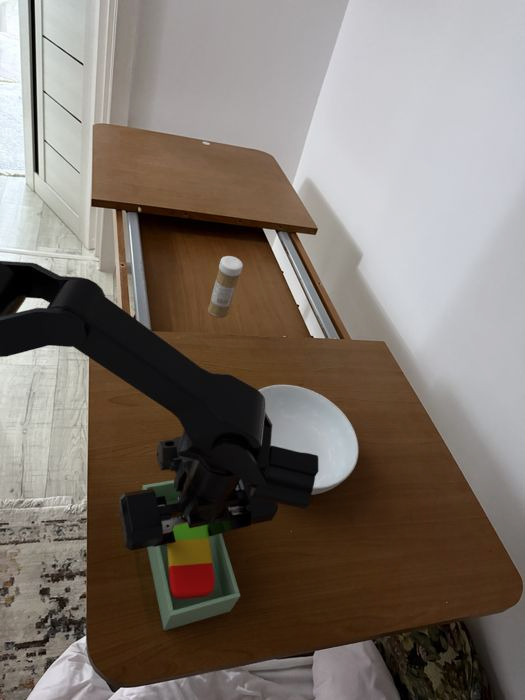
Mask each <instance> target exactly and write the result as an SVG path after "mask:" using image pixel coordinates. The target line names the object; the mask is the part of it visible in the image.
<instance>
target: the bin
mask: <svg viewBox="0 0 525 700" xmlns="http://www.w3.org/2000/svg"><path fill="white" fill-rule="evenodd" d="M174 480H175V479H173V480H167V481H160V482H153V483H149V484H143V485H142V488H141V490H146V489H153V490H154V491H155V494H156V497H160V496H165V498H166V503H167V505H169V504H174V503H178V500H177V497H178V496H179V495H180V491H178V492H176V491H175V487H174ZM176 518H177V517H176ZM180 518H181V516H180ZM173 519H174V518H173ZM209 539H210V547H211V555H212V563H213V572H214V580H215V585H214V589H213V591H212V592H211V593H210V595H208V596H205V597H199V598H189V599H177V598H174V597H173V596H172V594H171V592H170V584H169V568H168V552H167V546H157V547H152V546H151V547H146V549H147V555H148V560H149V563H150V569H151V574H152V579H153V585H154V590H155V595H156V600H157V605H158V609H159V614H160V620H161V624H162V630H163V631H164V632H165V631H168V630H171V629H172V630H173V629H174V628H178V627H182V626H185V625H189V624H192V623H195V622H199V621H203V620H205V619H209V618H213V617H215V616H219V615H222V614H225V613H230V612H231V611H232V610H233V608H234V606H235V605H236V604H237V602H238V600H239V599H240V598H241V593H240V589H239V586H238V583H237V580H236V577H235V573H234V569H233V566H232V563H231V560H230V555H229V553H228V550H227V547H226V544H225V540H224V536H223V533H222V534H218V535H214V536H211V537H210V536H209Z"/></svg>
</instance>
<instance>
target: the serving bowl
mask: <svg viewBox="0 0 525 700" xmlns="http://www.w3.org/2000/svg"><path fill="white" fill-rule="evenodd" d="M257 390H258V391H259V392H260V393H261V394H262V395H263V396H264V398H265V404H266V405H265V412H266V414H267V416H268V418H269V419H270V421H271V423H272V436H271V445H272V446H276V447H280V448H284V449H288V450H292V451H296V452H301V453H309V454H313V455H317V456H318V473H317V474H316V476H315V481H314V486H313V490H312V494H311V496H313V495H319V494H323V493H325V492H329V491H330V490H332V489H334V488H336V487H337V486H339V485H340V484H342V482H344V481H345V480H346V479H347V478H348V477H350V475H351V474H352V472H353V471H354V469H355V467H356V465H357V463H358V459H359V441H358V437H357V435H356V431H355V429H354V426H353V425H352V423H351V421H350V420H349V419H348V417H347V416H346V414H345V413H344V412H343V411H342V410H341V409H340V408H339V407H338V406H337V405H336V404H335V403H333V402H332V401H331V400H329V399H328V398H326V397H325V396H324V395H321V394H320V393H317V392H316V391H313V390H312V389H308V388H305V387H302V386H299V385H292V384H274V385H268V386H266V387H262V388H259V389H257Z"/></svg>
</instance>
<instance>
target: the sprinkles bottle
mask: <svg viewBox="0 0 525 700" xmlns="http://www.w3.org/2000/svg"><path fill="white" fill-rule="evenodd" d="M243 266H244V265H243V262H242V261H241V260H240V259H239V258H238V257H235V256H234V255H233V256H232V255H226V256H222V257H221V259H220V262H219V265H218V272H217V276H216V279H215V283H214V286H213V290H212V293H211V297H210V300H209V301H210V302H209V305H208V307H207V311H208V313H209V314H210V315H211V316H212V317H214V318H216V319H217V318H218V319H224V318H226V317H227V316H228V315H229V310H230V307H231V304H232V301H233V299H234V295H235V290H236V287H237V284H238V280H239V278H240V275H241V273H242V271H243V268H244V267H243Z"/></svg>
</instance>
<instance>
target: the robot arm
mask: <svg viewBox="0 0 525 700" xmlns="http://www.w3.org/2000/svg"><path fill="white" fill-rule="evenodd" d="M26 299H38V300H39V299H41V300H44V301H45V302H47V303H48V305H47V307H35V308H30V309H26V310H22V311H19V310H20V309H21V307H22V305H23V304H24V303H25V301H26ZM49 346H52V347H64V348H65V347H68V348H72V347H73V348H74V349H76V351H79V352H81V353H82V354H83V355H85V356H86V357H87V358H89V359H91V360H92V361H94V362H95V363H97V364H98V365H99V366H101V367H103V368H104V369H106V370H107V371H108V372H110V373H112V374H113V375H115V376H116V377H117V378H118V379H121V380H122V381H124V382H125V383H127V384H128V385H130V386H131V387H133V388H134V389H136V390H137V391H139V392H140V393H141V394H143V395H145V396H146V397H148V398H149V399H150V400H152V401H154V402H155V403H156V404H158V405H159V406H161V407H163V408H164V409H165V410H167V411H169V412H170V413H171V414H172V415H174V417H176V419H178V421H179V423H180V424H181V426H182V429H183V430H182V434H181V436H176V437H173V438H172V439H167V440H161V441H159V442H158V445H157V447H156V462H157V464H158V466H159V470H161V471H163V472H164V471H170V472H174V473H175V474H174V475H175V476H174V479H173V480H174V487H175V491H176V492H178V491H180V495H179V496H178V497H177V500H178V503H174V504H169V505H167V503H166V498H165V496H160V497H156V494H155V491H154V490H153V489H146V490H142V489H141V490H140V489H139V490H135V491H128V492H124V493H122V495H121V496H120V498H119V500H118V505H117V507H118V513H119V519H120V525H121V531H122V537H123V542H124V547H125V548H126V549H128V550H129V551H132V552H133V551H136V550H141V549H145V548H146V549H147V547H151V546H152V547H157V546H169V545H171V544H173V543H175V542H176V541H175V536H174V532H173V528H174V526H176V525H181V524H186V523H188V525H189V528H194V527H199V526H204V525H208V531H209V536H210V537H211V536H214V535H218V534H222V535H223V534H225V533H229V532H233V531H236V530H240V529H244V528H249V527H251V526H252V525H256V524H261V523H266V522H269V521H273V519H274V517H275V516H276V514H277V512H278V510H279V504H281V505H285V506H289V507H294V508H297V509H302V510H305V509H307V508H308V507H309V506H310V503H311V496H312V495H311V494H312V490H313V486H314V481H315V476H316V474H317V473H318V456H317V455H313V454H309V453H301V452H296V451H292V450H288V449H284V448H280V447H276V446H272V445H271V436H272V423H271V421H270V419H269V418H268V416H267V414H266V412H265V405H266V404H265V398H264V396H263V395H262V394H261V393H260V392H259V391H258V390H259V389H256V388H255V387H254V386H252V385H250V384H248V383H247V382H245V381H243V380H241V379H239V378H238V377H236V376H234V375H232V374H229V373H217V372H210V371H208V370H206V369H204V368H203V367H201V366H199V365H198V364H197V363H195V362H194V361H193V360H191V359H190V358H188V357H187V356H186V355H184V354H183V353H182V352H180V350H178V349H177V348H175V347H174V346H173V345H171V344H170V343H168V342H167V341H166V340H164V339H163V338H162V337H160V336H159V335H158V334H156V333H155V332H153V331H152V330H151V329H150V328H148V327H147V326H146V325H144V324H143V323H141V322H140V320H137V319H136V318H135V317H134V316H132V315H131V314H129V313H128V312H127V311H125V310H124V309H122V307H120V306H119V305H117V304H116V303H114V302H113V301H112V300H111V299H109V298H108V297H106V294H105V292H104V290H103V288H102V287H101V286H100V285H99V284H98V283H96V282H95V281H93V280H91V279H90V278H85V277H81V276H69V275H68V276H66V275H59V274H58V273H56V272H53V271H51V270H50V269H48V268H46V267H43V266H42V265H40V264H39V263H35V262H25V261H9V260H0V358H6V357H10V356H14V355H18V354H22V353H25V352H29V351H33V350H36V349H41V348H45V347H49ZM180 516H181V518H180ZM183 516H184V517H183ZM176 517H177V518H176ZM173 518H174V519H173Z"/></svg>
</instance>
